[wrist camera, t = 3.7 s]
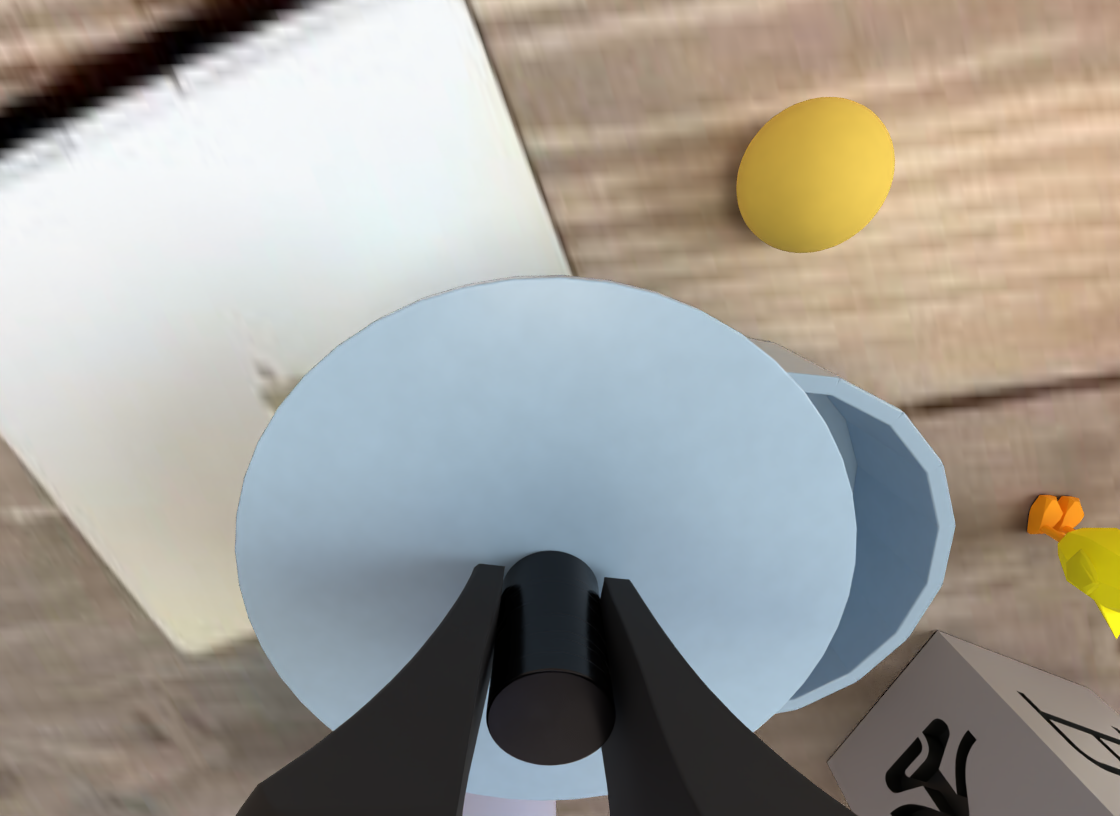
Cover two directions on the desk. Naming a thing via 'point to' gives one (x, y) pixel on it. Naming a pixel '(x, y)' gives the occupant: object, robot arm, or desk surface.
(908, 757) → the icon cube
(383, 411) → the lid
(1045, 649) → the desk surface
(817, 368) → the pot
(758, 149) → the ball
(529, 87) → the desk surface
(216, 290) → the desk surface
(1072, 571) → the toy figure
